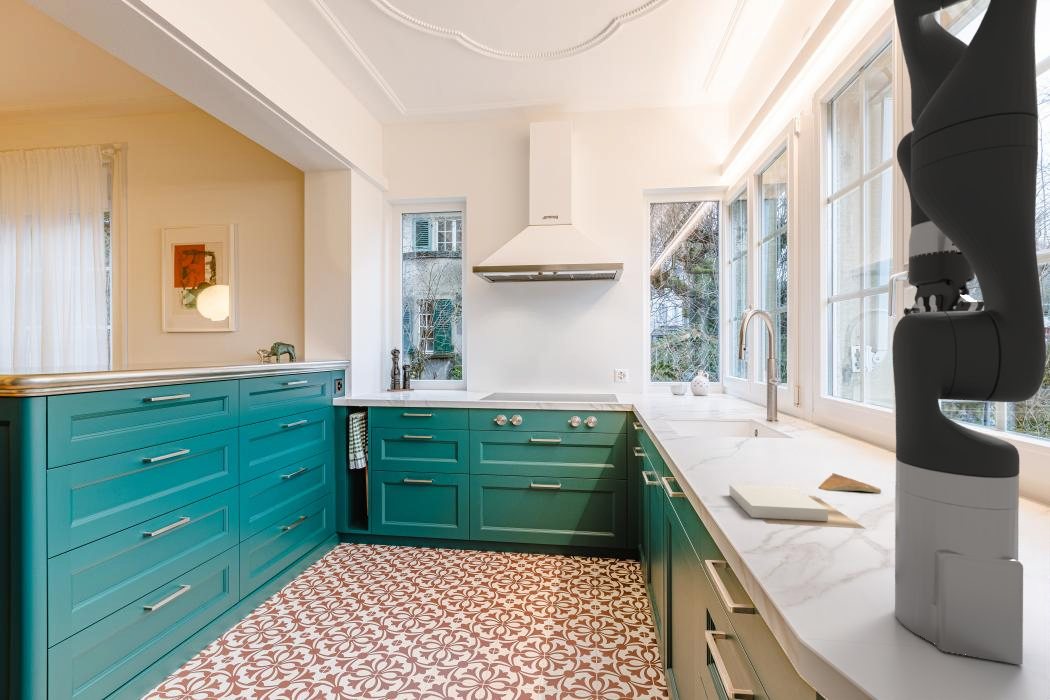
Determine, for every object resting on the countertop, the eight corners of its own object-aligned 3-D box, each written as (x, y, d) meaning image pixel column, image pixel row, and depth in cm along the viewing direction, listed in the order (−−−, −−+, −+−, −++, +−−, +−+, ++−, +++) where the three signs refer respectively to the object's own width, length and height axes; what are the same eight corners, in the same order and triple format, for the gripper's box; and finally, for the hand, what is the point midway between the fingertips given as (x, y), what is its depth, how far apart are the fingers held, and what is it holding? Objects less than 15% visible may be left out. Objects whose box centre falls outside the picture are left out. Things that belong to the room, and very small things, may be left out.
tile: (827, 509, 75) (752, 505, 76) (827, 521, 75) (752, 517, 76) (794, 487, 87) (729, 484, 88) (794, 498, 87) (729, 495, 88)
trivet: (865, 530, 72) (865, 528, 72) (766, 525, 74) (766, 522, 74) (814, 497, 88) (814, 495, 88) (734, 494, 90) (734, 492, 90)
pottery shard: (819, 493, 92) (819, 481, 92) (817, 482, 100) (817, 470, 100) (883, 502, 87) (883, 489, 87) (876, 489, 95) (876, 477, 95)
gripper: (885, 262, 76) (884, 363, 76) (947, 244, 63) (946, 366, 63) (934, 261, 75) (933, 363, 75) (1007, 242, 62) (1007, 366, 62)
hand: (939, 364), depth 69 cm, fingers closed
